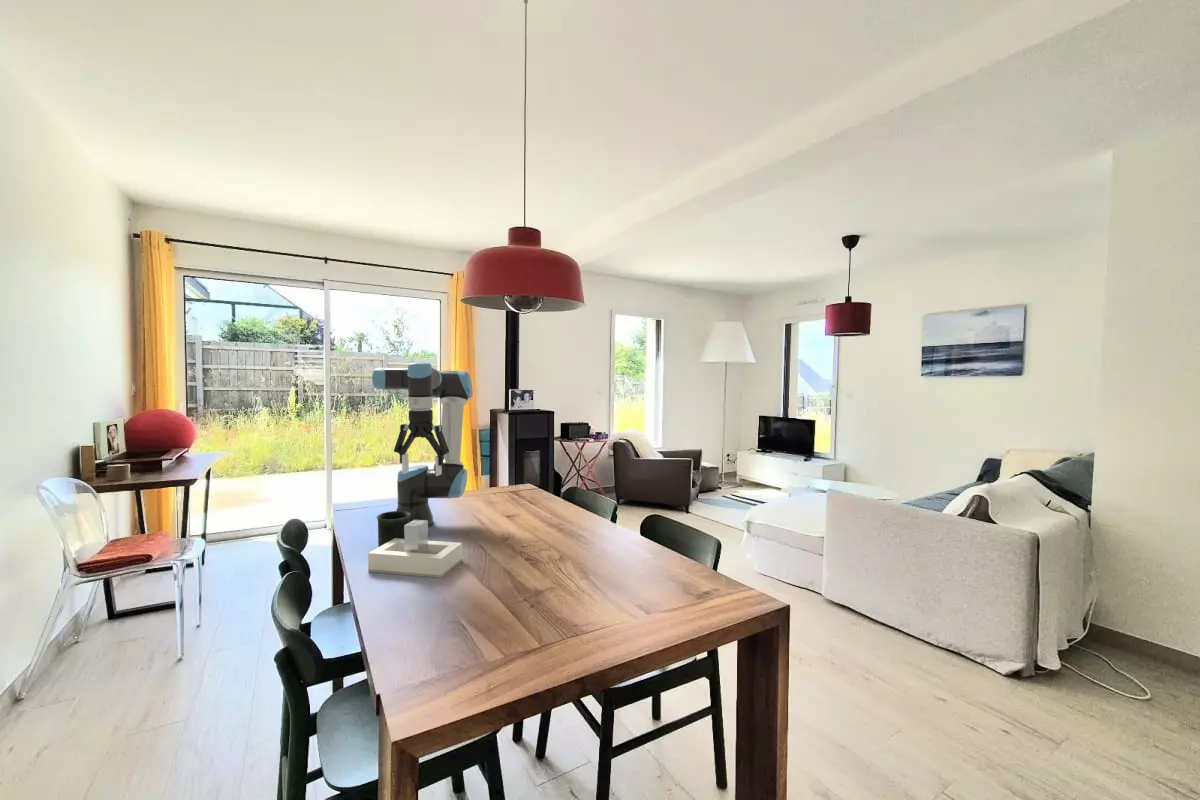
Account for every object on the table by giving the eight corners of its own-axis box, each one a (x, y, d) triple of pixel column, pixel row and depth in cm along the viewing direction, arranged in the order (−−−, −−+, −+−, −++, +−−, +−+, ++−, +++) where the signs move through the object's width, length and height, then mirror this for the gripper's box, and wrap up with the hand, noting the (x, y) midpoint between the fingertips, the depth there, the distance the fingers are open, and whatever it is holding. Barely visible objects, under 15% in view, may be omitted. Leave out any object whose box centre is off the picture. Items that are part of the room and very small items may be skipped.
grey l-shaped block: (415, 559, 158) (414, 519, 157) (442, 561, 156) (442, 521, 156) (404, 566, 152) (404, 525, 152) (433, 568, 150) (432, 527, 150)
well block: (395, 555, 164) (394, 538, 163) (462, 560, 160) (462, 543, 159) (368, 571, 150) (368, 553, 150) (441, 577, 146) (440, 558, 145)
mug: (386, 557, 162) (385, 521, 161) (367, 547, 171) (366, 513, 171) (417, 549, 170) (416, 515, 169) (397, 539, 179) (396, 507, 179)
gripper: (381, 409, 161) (383, 474, 163) (448, 411, 157) (449, 478, 159) (394, 407, 168) (396, 469, 170) (459, 409, 164) (460, 473, 166)
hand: (422, 474), depth 164 cm, fingers open, 11 cm apart
